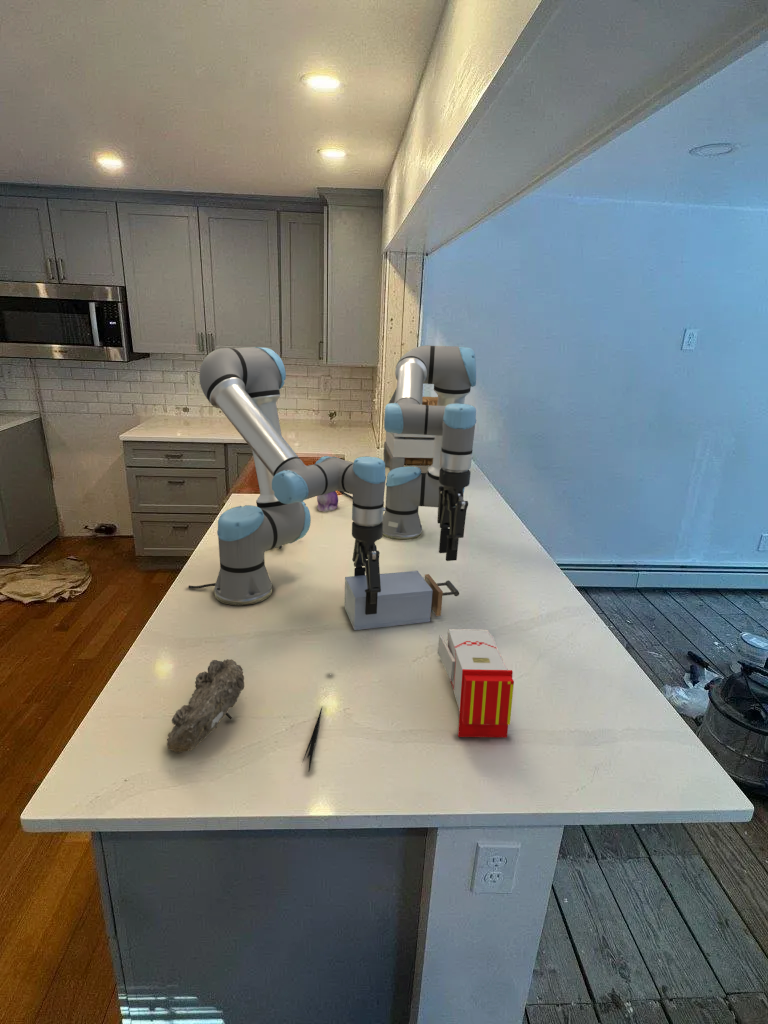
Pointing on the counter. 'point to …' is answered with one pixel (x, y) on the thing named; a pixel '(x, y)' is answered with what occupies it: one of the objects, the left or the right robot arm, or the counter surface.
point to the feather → (313, 740)
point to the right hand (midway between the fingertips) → (447, 556)
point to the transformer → (409, 445)
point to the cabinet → (389, 600)
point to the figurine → (327, 501)
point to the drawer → (439, 593)
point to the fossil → (206, 705)
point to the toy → (478, 682)
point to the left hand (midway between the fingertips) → (364, 601)
